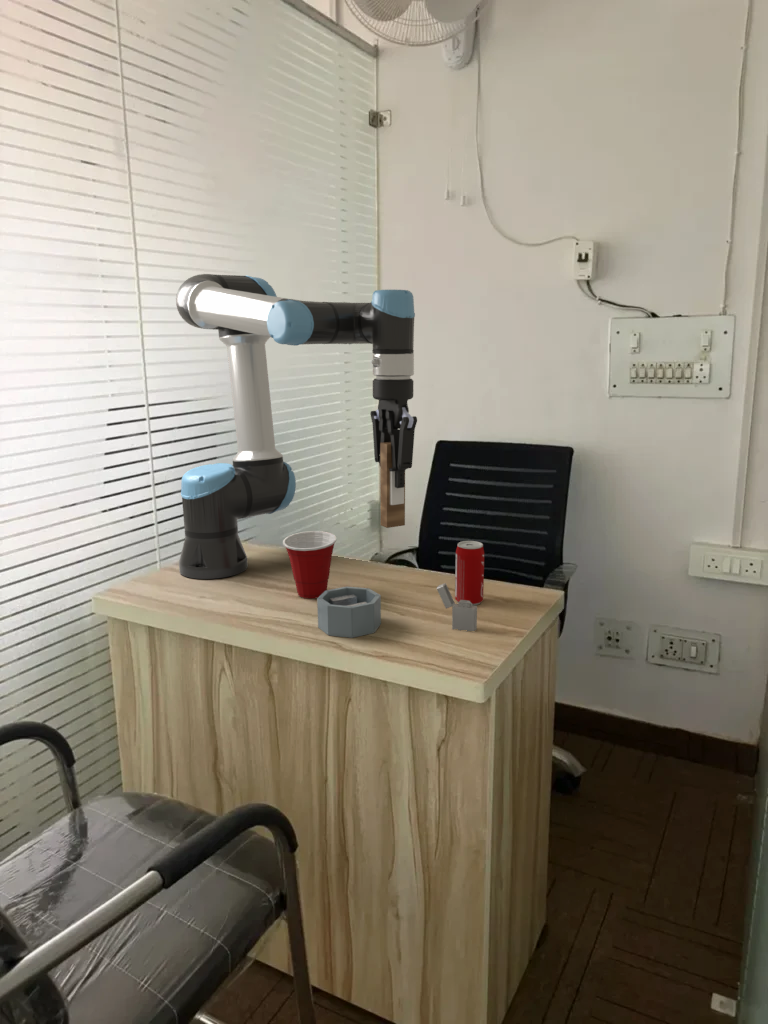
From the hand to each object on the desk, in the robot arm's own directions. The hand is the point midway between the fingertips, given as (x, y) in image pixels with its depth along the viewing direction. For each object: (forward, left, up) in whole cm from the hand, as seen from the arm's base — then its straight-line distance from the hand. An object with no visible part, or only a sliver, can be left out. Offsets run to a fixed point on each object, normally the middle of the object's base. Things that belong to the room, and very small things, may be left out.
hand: (392, 502), depth 142 cm
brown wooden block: (0, 0, -5) cm, 5 cm away
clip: (+6, -13, -20) cm, 25 cm away
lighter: (+17, +3, -21) cm, 27 cm away
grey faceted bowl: (+6, -13, -20) cm, 25 cm away
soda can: (+7, +13, -21) cm, 25 cm away
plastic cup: (-13, -12, -21) cm, 27 cm away
